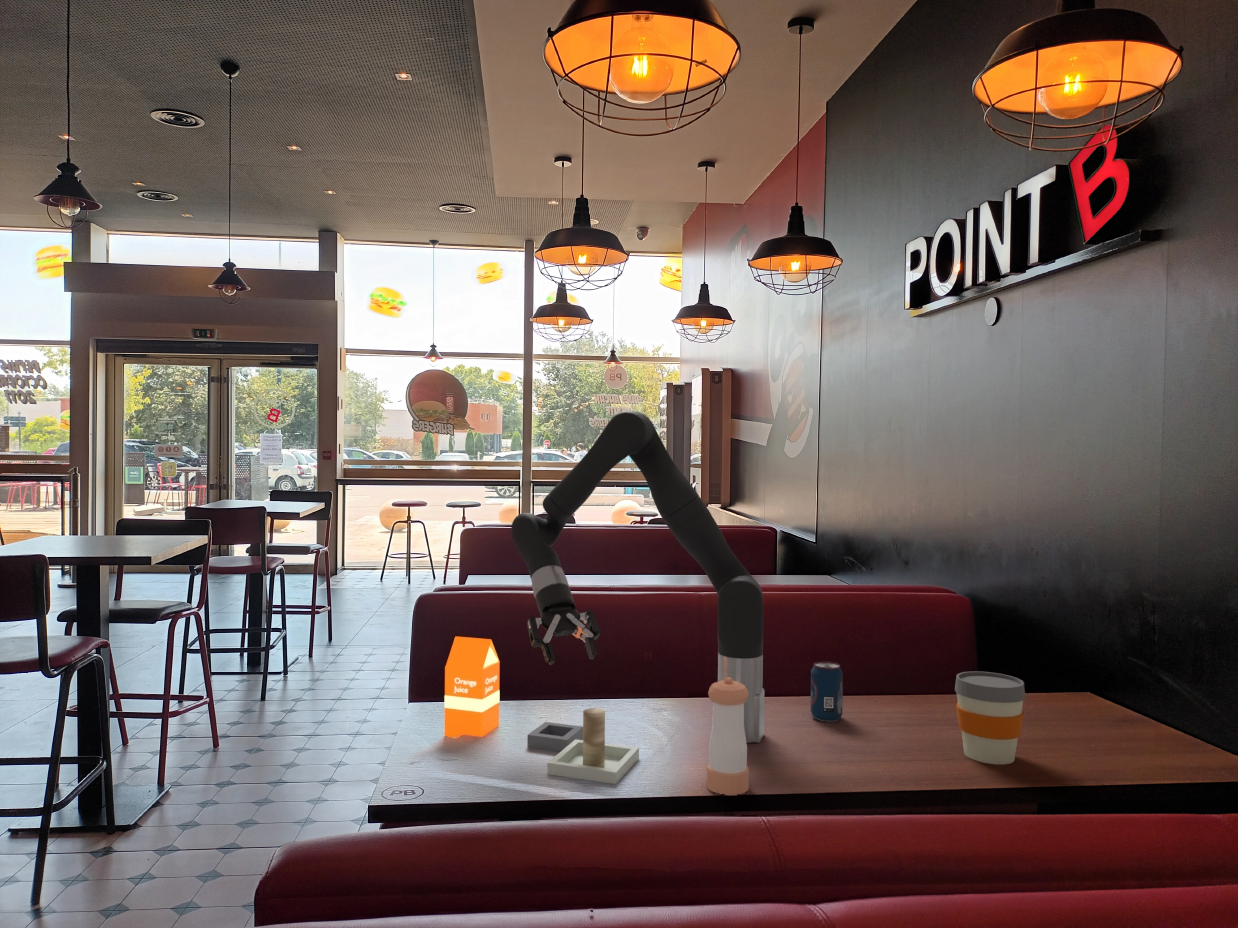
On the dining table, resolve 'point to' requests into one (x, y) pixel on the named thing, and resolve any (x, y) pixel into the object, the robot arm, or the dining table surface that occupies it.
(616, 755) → the tray
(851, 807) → the dining table surface
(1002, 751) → the reusable coffee cup
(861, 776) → the dining table surface
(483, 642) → the orange juice
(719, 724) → the pepper shaker
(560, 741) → the grey square socket
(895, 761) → the dining table surface
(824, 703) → the soda can
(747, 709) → the robot arm
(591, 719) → the dowel
